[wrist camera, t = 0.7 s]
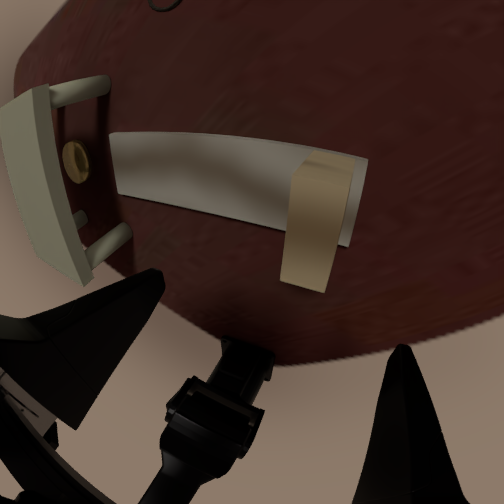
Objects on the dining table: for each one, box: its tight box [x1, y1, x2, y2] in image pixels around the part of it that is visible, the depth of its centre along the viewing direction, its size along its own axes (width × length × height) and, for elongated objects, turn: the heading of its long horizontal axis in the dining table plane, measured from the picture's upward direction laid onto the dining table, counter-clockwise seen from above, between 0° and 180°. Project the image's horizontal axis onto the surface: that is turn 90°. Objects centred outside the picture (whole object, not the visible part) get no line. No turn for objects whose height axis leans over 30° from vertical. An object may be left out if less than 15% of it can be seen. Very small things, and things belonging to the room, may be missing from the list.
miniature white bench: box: [0, 75, 133, 287], centre depth 21 cm, size 18×11×8 cm, turn 179°
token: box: [63, 139, 92, 183], centre depth 24 cm, size 5×5×1 cm
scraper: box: [109, 132, 368, 293], centre depth 17 cm, size 6×21×6 cm, turn 89°
